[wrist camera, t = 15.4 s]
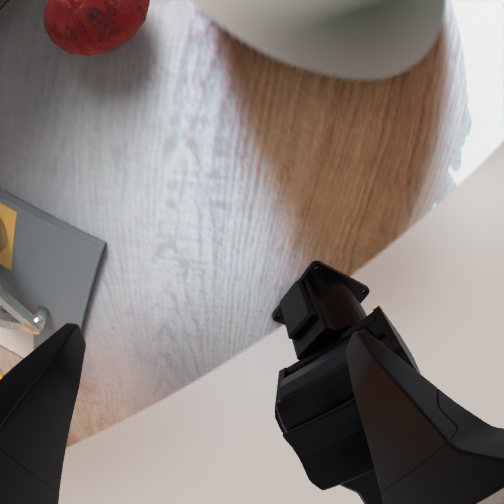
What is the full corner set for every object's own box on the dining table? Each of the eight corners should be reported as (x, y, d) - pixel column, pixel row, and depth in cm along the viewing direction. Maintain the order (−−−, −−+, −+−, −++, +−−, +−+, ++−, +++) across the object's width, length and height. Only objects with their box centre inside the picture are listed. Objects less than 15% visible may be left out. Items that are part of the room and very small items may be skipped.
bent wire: (52, 294, 22) (41, 313, 19) (48, 334, 24) (39, 352, 22) (-10, 259, 19) (-24, 274, 17) (-8, 303, 22) (-19, 318, 19)
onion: (177, 25, 14) (148, -15, 7) (102, 76, 15) (35, 75, 8) (137, -31, 11) (95, -82, 4) (66, 20, 12) (-3, 0, 5)
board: (106, 242, 21) (101, 249, 20) (72, 376, 29) (70, 383, 28) (-22, 176, 16) (-30, 180, 15) (-20, 325, 24) (-24, 331, 23)
